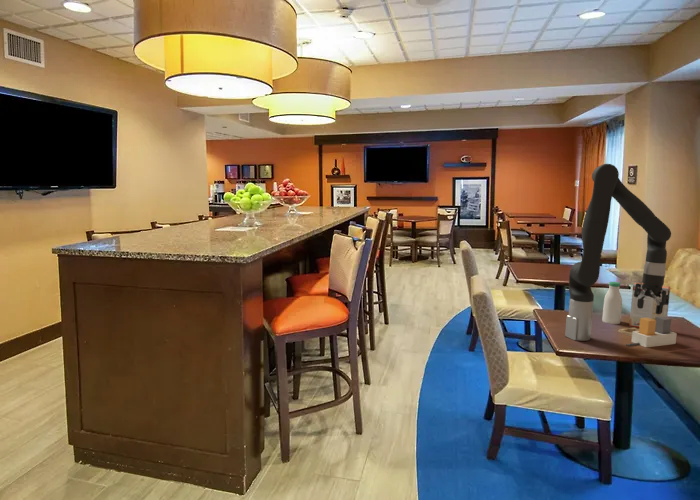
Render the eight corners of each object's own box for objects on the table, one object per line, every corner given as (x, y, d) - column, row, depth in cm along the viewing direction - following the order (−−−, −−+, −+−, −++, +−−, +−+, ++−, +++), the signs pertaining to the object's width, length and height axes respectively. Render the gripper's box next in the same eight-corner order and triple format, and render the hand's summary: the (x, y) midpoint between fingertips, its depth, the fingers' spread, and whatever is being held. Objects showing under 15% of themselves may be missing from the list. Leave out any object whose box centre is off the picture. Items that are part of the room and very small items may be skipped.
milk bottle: (623, 325, 224) (627, 284, 221) (607, 324, 224) (610, 284, 221) (614, 320, 232) (618, 280, 229) (599, 320, 232) (602, 280, 229)
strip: (634, 349, 191) (636, 323, 190) (620, 344, 198) (622, 318, 196) (675, 344, 198) (678, 319, 196) (660, 339, 204) (662, 314, 203)
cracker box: (666, 330, 217) (671, 286, 214) (663, 333, 212) (668, 288, 209) (631, 324, 226) (636, 281, 223) (628, 326, 222) (632, 283, 219)
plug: (646, 344, 195) (648, 321, 194) (637, 341, 199) (640, 318, 197) (653, 343, 196) (656, 320, 195) (645, 340, 200) (647, 317, 199)
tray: (635, 339, 204) (635, 335, 204) (618, 332, 213) (618, 329, 212) (651, 337, 207) (651, 333, 206) (634, 331, 215) (634, 327, 215)
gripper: (632, 269, 198) (627, 306, 201) (662, 276, 185) (657, 316, 187) (646, 269, 201) (641, 306, 203) (677, 276, 187) (671, 315, 189)
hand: (649, 311), depth 195 cm, fingers open, 8 cm apart
